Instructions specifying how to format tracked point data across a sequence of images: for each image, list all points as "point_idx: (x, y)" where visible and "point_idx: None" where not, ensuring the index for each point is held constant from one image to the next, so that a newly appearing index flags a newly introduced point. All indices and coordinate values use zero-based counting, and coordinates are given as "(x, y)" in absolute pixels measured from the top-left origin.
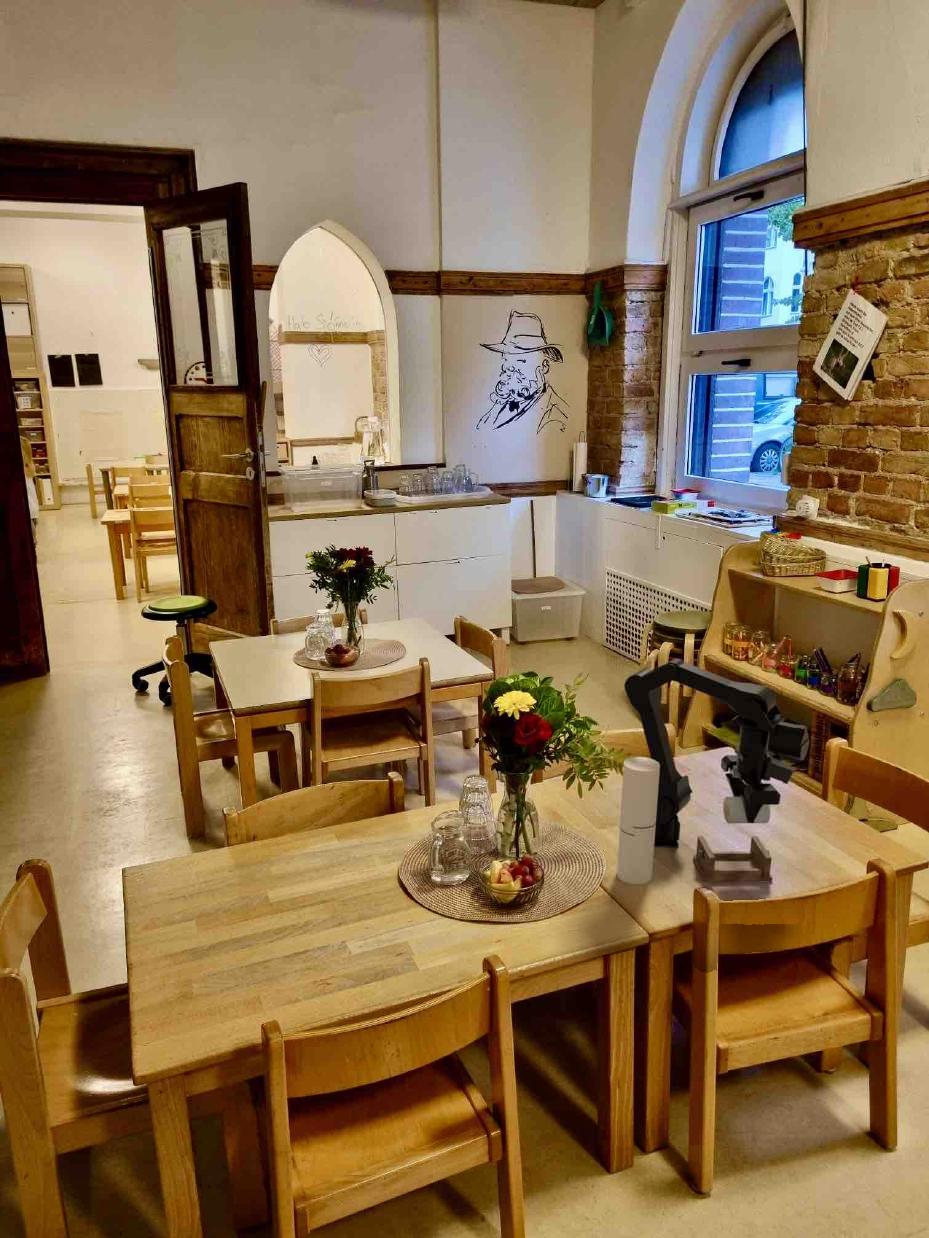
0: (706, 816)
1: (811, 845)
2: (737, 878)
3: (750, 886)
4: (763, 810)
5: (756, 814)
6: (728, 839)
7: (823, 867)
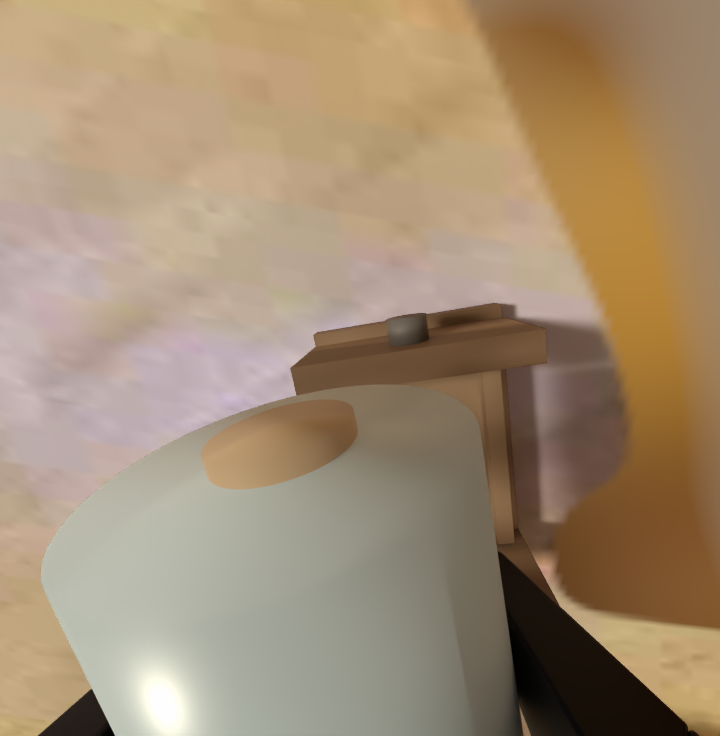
0: (28, 469)
1: (123, 47)
2: (509, 442)
3: (537, 393)
4: (493, 565)
5: (607, 663)
6: (182, 418)
7: (330, 20)
